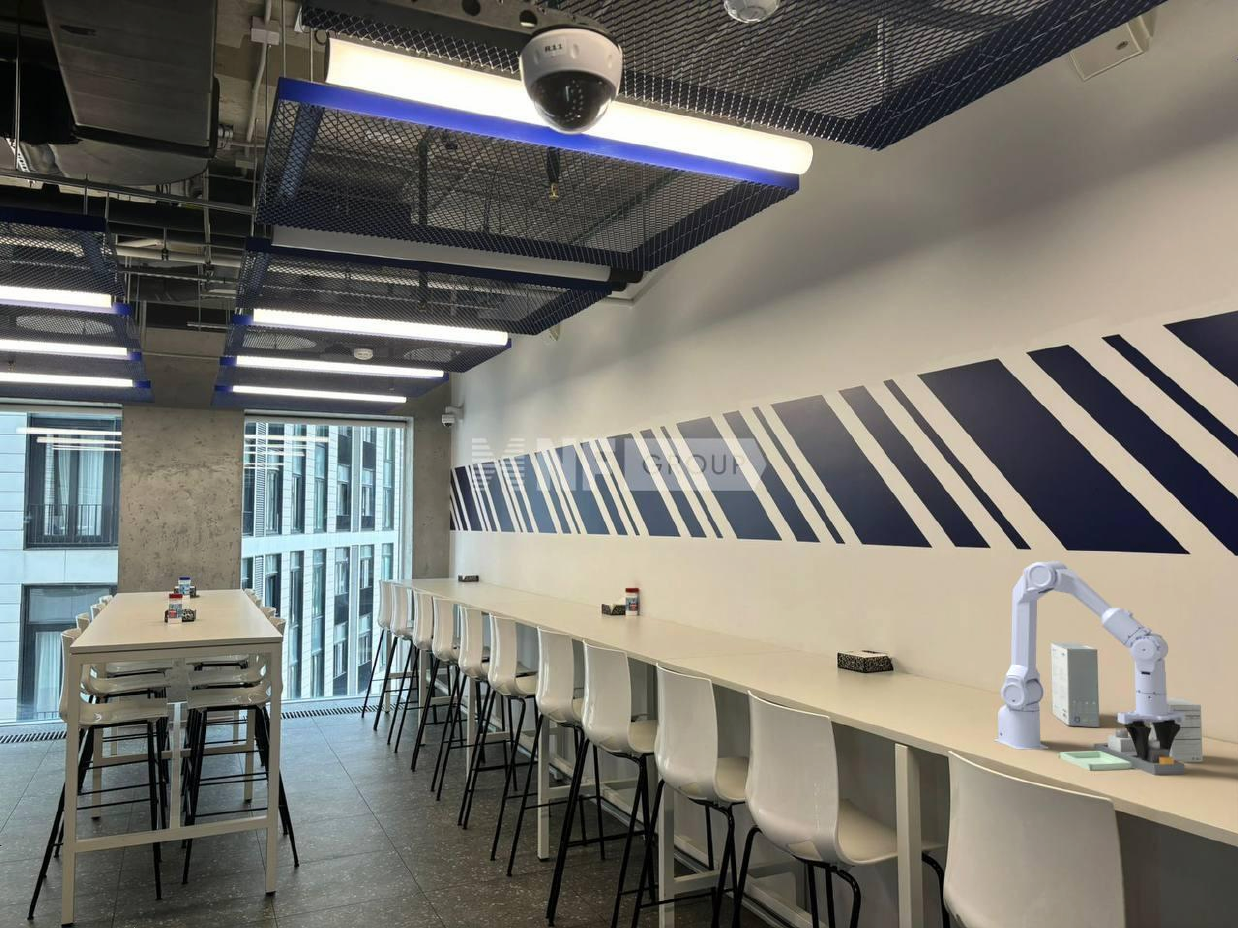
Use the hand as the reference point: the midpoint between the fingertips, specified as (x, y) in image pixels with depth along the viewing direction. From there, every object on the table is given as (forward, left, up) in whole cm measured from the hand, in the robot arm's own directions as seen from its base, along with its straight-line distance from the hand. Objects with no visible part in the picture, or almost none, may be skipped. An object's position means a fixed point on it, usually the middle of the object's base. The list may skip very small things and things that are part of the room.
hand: (1152, 757), depth 187 cm
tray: (-5, -9, -3) cm, 11 cm away
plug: (0, 0, -3) cm, 3 cm away
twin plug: (-9, 0, -3) cm, 9 cm away
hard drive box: (-46, +16, -3) cm, 49 cm away
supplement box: (-8, +13, -3) cm, 16 cm away
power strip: (-4, 0, -3) cm, 5 cm away
